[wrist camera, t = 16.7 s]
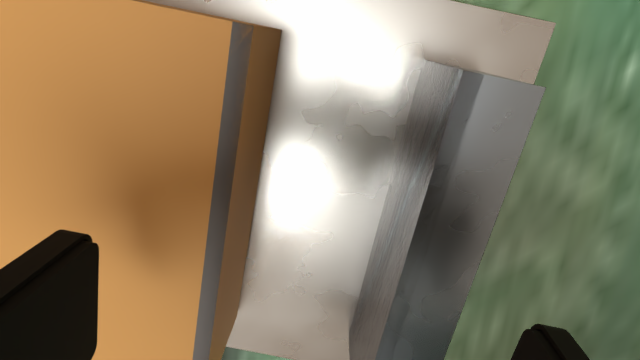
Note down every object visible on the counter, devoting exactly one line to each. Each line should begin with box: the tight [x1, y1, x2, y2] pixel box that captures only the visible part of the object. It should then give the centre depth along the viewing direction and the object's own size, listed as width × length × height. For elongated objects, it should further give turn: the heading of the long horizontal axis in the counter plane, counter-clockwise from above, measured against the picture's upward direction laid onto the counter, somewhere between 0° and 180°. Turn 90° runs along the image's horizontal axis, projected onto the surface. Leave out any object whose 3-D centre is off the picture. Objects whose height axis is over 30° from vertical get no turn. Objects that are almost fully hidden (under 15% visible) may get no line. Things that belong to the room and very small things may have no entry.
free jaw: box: [0, 0, 282, 360], centre depth 14 cm, size 7×12×5 cm, turn 169°
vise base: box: [143, 0, 556, 360], centre depth 15 cm, size 17×16×6 cm
